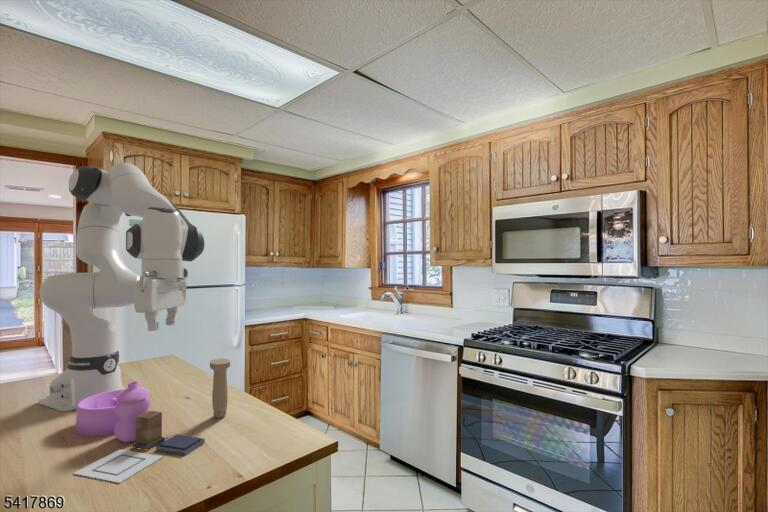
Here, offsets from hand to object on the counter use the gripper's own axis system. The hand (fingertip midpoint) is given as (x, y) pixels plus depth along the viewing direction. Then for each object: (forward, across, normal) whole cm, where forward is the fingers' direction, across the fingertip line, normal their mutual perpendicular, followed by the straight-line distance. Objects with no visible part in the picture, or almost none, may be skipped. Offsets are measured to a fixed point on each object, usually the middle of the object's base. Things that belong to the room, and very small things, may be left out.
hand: (162, 327), depth 95 cm
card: (+26, -14, +3) cm, 30 cm away
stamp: (+26, -4, +1) cm, 27 cm away
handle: (+26, +10, -11) cm, 30 cm away
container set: (+26, +6, +13) cm, 30 cm away
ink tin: (+26, -7, -7) cm, 28 cm away
